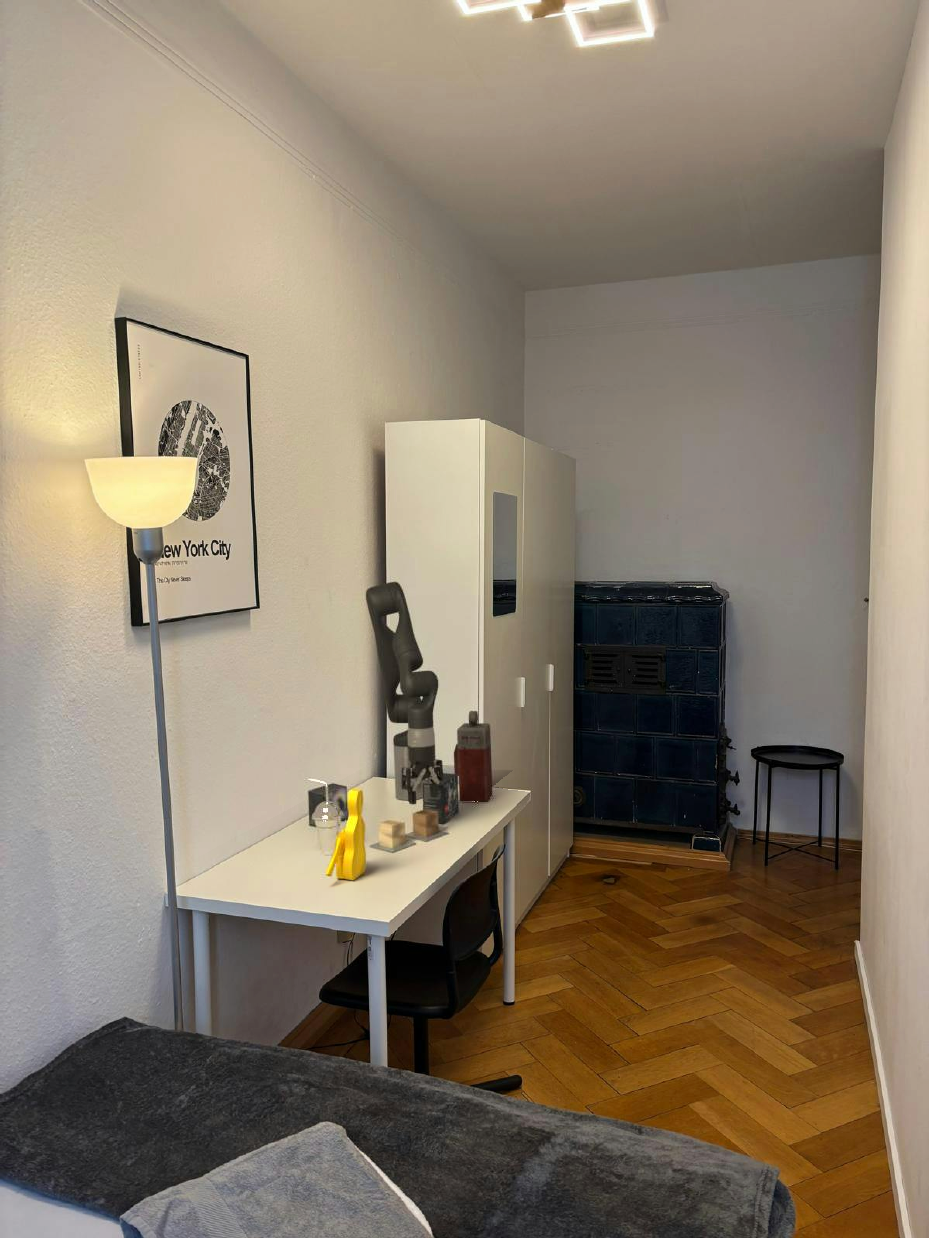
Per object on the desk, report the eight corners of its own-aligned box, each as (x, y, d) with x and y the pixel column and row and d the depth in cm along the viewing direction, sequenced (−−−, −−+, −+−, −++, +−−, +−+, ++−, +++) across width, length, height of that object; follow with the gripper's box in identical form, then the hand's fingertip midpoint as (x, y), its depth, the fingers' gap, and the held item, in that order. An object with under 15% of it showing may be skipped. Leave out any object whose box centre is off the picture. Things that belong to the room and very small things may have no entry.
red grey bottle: (458, 794, 309) (455, 708, 306) (492, 794, 306) (489, 708, 304) (452, 801, 300) (448, 713, 298) (487, 802, 297) (484, 713, 295)
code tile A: (425, 828, 273) (425, 826, 273) (448, 833, 267) (448, 832, 267) (403, 836, 267) (403, 834, 267) (426, 841, 261) (426, 840, 261)
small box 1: (323, 829, 276) (322, 793, 275) (308, 825, 280) (306, 790, 279) (349, 819, 284) (347, 785, 284) (333, 816, 288) (332, 782, 287)
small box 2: (444, 824, 276) (443, 783, 275) (422, 823, 278) (421, 782, 277) (459, 811, 289) (458, 772, 288) (438, 810, 291) (436, 771, 290)
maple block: (392, 840, 262) (391, 818, 262) (405, 843, 259) (404, 821, 258) (379, 844, 258) (378, 823, 258) (392, 848, 255) (391, 826, 255)
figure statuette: (353, 863, 245) (349, 779, 243) (381, 866, 242) (377, 780, 241) (319, 887, 229) (315, 797, 227) (348, 890, 226) (344, 799, 224)
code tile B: (393, 838, 265) (393, 836, 265) (416, 844, 259) (416, 842, 259) (369, 846, 258) (369, 845, 258) (392, 852, 252) (392, 851, 252)
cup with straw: (327, 859, 249) (323, 784, 247) (305, 853, 255) (301, 779, 253) (352, 851, 255) (348, 777, 253) (330, 844, 261) (326, 772, 259)
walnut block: (425, 829, 270) (424, 809, 270) (438, 832, 267) (437, 811, 267) (413, 834, 267) (412, 813, 266) (426, 837, 263) (425, 816, 263)
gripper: (429, 737, 273) (431, 793, 274) (393, 745, 262) (395, 804, 263) (448, 740, 268) (450, 797, 269) (412, 749, 257) (415, 808, 258)
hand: (423, 800), depth 266 cm, fingers open, 8 cm apart
